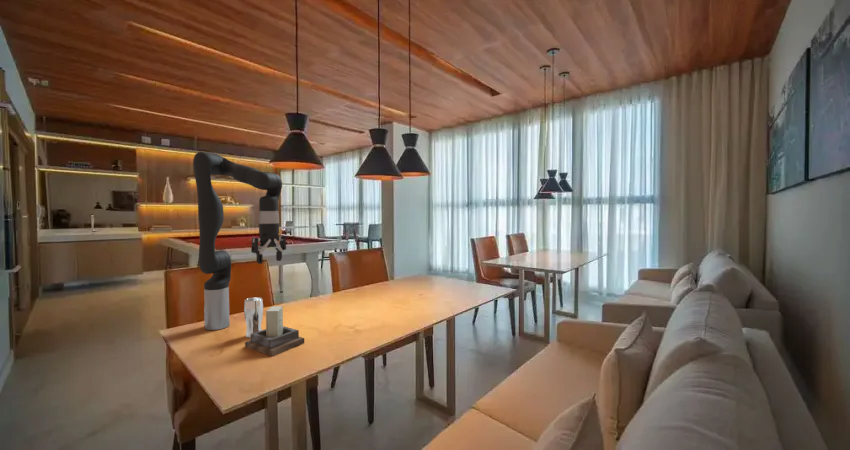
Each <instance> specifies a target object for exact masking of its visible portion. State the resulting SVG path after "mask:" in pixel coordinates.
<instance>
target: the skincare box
mask: <svg viewBox="0 0 850 450" xmlns="http://www.w3.org/2000/svg"><path fill="white" fill-rule="evenodd" d="M283 307H284V306H283V305H282V306H279V305H278V306H274V305H273V306H271V307H269V308H268V309H267V310H266V312H265V313H266V314H265V319H266V321H265V322H266V323H265V326H266V327H265V329H266V336H267V337H270V338H274V337H277V336H280V335H282V334H283V326H284V314H283V313H284V312H283V311H284V308H283Z"/></svg>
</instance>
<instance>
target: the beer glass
mask: <svg viewBox="0 0 850 450" xmlns="http://www.w3.org/2000/svg"><path fill="white" fill-rule="evenodd" d="M263 301H264V300H263V298H262V296H261V297H257V296H256V297H248V298H246V299H244V304H243V306H244V307H243V312H244V320H245V324H246V333H245V338H248V339H251V334H252V333H255V332H258V331H261V330H263V329H262V320H263V315H264V303H263Z"/></svg>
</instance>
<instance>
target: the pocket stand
mask: <svg viewBox="0 0 850 450" xmlns="http://www.w3.org/2000/svg"><path fill="white" fill-rule="evenodd" d="M299 333H300V332H299V329H296V328H291V327H289V326H284V325H283V334H282V335H280V336H277V337H274V338H270V337H267V336H266V328H265V329H262V330H261V331H258V332H255V333H252V334H251V338H250V340H249V339H248V340H246V341H245V342H244V347H245V348H246V349H250V350H252V351H255V352H258V353H262V354H265V355H268V356H270V357H274V356H276V355H279V354H282V353H285V352H288V351H289V350H291V349H294V348H297V347H298V346H301V345H303V344H305V337H301V336H300V335H299Z"/></svg>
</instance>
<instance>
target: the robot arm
mask: <svg viewBox="0 0 850 450" xmlns="http://www.w3.org/2000/svg"><path fill="white" fill-rule="evenodd" d="M192 160H193V162H192V166H193V167H192V168H193V173H194V179H195V185H196V193H197V194H196V195H197V209H198V210H197V212H198V213H197V214H198V227H199V228H198V231H199V243H198V244H199V247H198V266H199V269H200V271H201V272H202V273H203V274H205V275H210V274H212V275H211V277H210V278H208V280H206V281H205V282H204V283H203V287H204V288H203V290H204V291H203V293H204V294H203V295H204V298H203V299H204V305H203V310H204V311H203V317H204V329H205V330H207V331H216V330H217V331H218V330H223V329H225V328H228V327H229V326H230V324H231V323H230V281H231V276H232V275H231V274H232V273H231V272H232V259H231V255H230V254H229V252H228V251H227V250H216V239H217V237H218V234H219V232H220V230H221V229H222V226H223V224H224V221H225V219H224V217H225V216H224V213H225V212H224V205H223V202H222V201H221V199H220V197H219V195H218V194H217V193H216V191H215V189H214V188H213V185H212V178H211V176H227V177H230V178H233V180H236V181H237V182H240V183H243V184H246V185H249V186H252V187H254V189H257V190H262V191H266V194H265V195H264V196H261V197H260V198H259V201H258V202H259V204H258V206H259V209H258V210H259V213H258V234H259V237H252V238H251V248H250V250H251V251H250V252H251V253H252V254H255V255H256V263H257V264H260V265H261V264H263V262H264V261H263V253H264V251H265V250H266V249H268V248H274V249H275V253H276V254H275V255H276V256H275V257H276V258H275V259H276V261H277V262H278V261H279V262H281V261H282V258H283V251H285V250H287V240H286V238H287V237H286V235H279V234H280V214H279V200H280V197H281V192H282V189H283V181H282V178H281V176H280V175H279V174H277V173H274V172H273V173H272V172H266V171H262V170H261V171H260V170H259V169H257V168H255V167H250V166H248V165H244V164H240V163H236V162H233V161H231V160H230V159H227V158H226V157H223V156H222V155H220V154H218V153H211V152H205V151H198V152H196V154H195V155H194V157H193V159H192Z"/></svg>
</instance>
